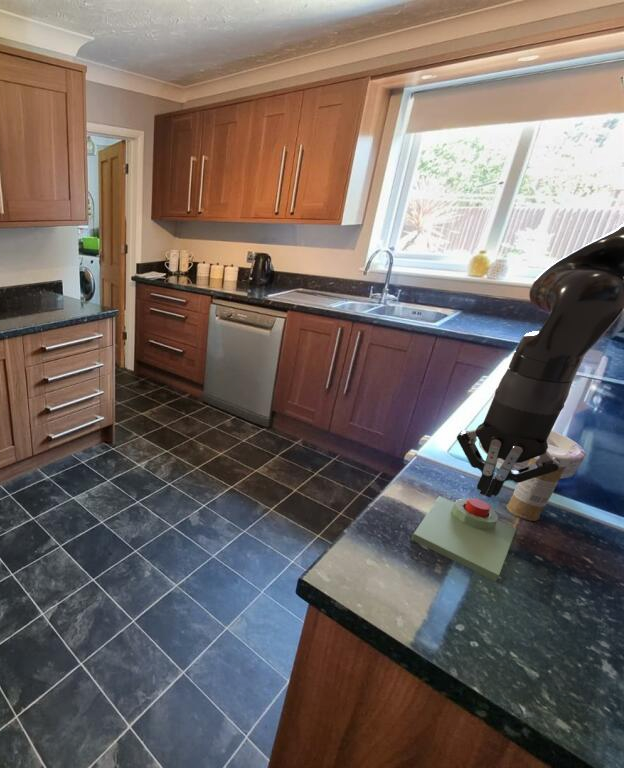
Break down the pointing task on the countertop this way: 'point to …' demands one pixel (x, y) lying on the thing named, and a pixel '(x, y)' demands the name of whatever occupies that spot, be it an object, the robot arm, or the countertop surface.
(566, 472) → the paper bowls
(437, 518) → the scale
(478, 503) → the button
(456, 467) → the countertop surface
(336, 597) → the countertop surface
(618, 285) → the robot arm
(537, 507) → the sprinkles bottle
